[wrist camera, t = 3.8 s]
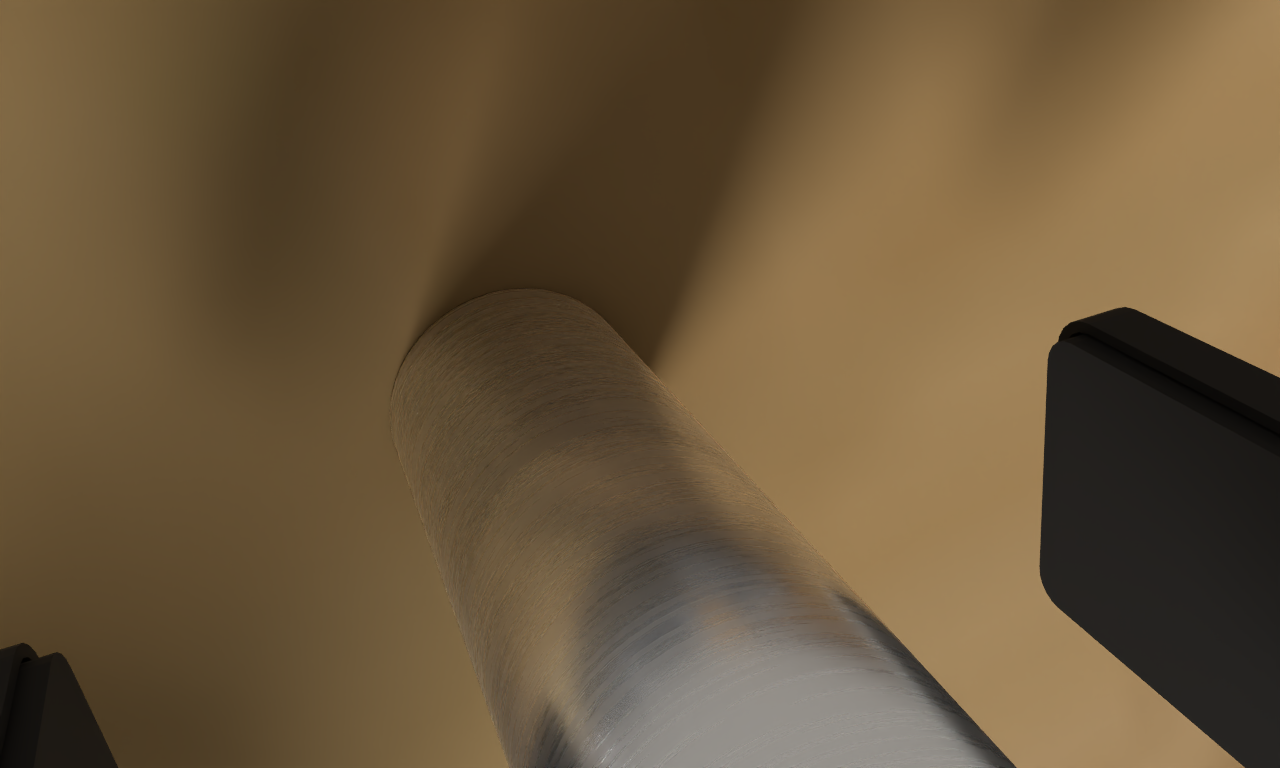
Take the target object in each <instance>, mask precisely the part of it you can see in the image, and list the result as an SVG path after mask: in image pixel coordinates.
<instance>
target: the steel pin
mask: <svg viewBox="0 0 1280 768" xmlns="http://www.w3.org/2000/svg"><path fill="white" fill-rule="evenodd" d="M390 427H391V433H392V438H393V442H394V445H395V448H396V451H397V454H398V457H399V459H400V462H401V465H402V468H403V471H404V473H405V476H406V479H407V482H408V485H409V487H410V490H411V493H412V496H413V499H414V502H415V504H416V507H417V510H418V513H419V516H420V518H421V521H422V524H423V527H424V530H425V532H426V535H427V538H428V541H429V544H430V546H431V549H432V552H433V555H434V558H435V561H436V563H437V566H438V569H439V572H440V575H441V577H442V580H443V583H444V586H445V589H446V591H447V594H448V597H449V600H450V603H451V605H452V608H453V611H454V614H455V617H456V620H457V622H458V625H459V628H460V631H461V634H462V636H463V639H464V642H465V645H466V648H467V650H468V653H469V656H470V659H471V662H472V665H473V667H474V670H475V673H476V676H477V679H478V681H479V684H480V687H481V690H482V693H483V695H484V698H485V701H486V704H487V707H488V709H489V712H490V715H491V718H492V721H493V724H494V726H495V729H496V732H497V735H498V738H499V740H500V743H501V746H502V749H503V752H504V754H505V757H506V760H507V763H508V766H509V768H1016V767H1015V766H1014V764H1013V763H1012V762H1011V761H1010V760H1009V759H1008V758H1007V757H1006V756H1005V755H1004V754H1003V752H1002V751H1001V750H1000V749H999V748H998V747H997V746H996V745H995V744H994V743H993V742H992V740H991V739H990V738H989V737H988V736H987V735H986V734H985V733H984V732H983V731H982V730H981V729H980V727H979V726H978V725H977V724H976V723H975V722H974V721H973V720H972V719H971V718H970V717H969V715H968V714H967V713H966V712H965V711H964V710H963V709H962V708H961V707H960V706H959V705H958V703H957V702H956V701H955V700H954V699H953V698H952V697H951V696H950V695H949V694H948V693H947V692H946V690H945V689H944V688H943V687H942V686H941V685H940V684H939V683H938V682H937V681H936V680H935V678H934V677H933V676H932V675H931V674H930V673H929V672H928V671H927V670H926V669H925V668H924V666H923V665H922V664H921V663H920V662H919V661H918V660H917V659H916V658H915V657H914V656H913V655H912V653H911V652H910V651H909V650H908V649H907V648H906V647H905V646H904V645H903V644H902V643H901V641H900V640H899V639H898V638H897V637H896V636H895V635H894V634H893V633H892V632H891V631H890V630H889V628H888V627H887V626H886V625H885V624H884V623H883V622H882V621H881V620H880V619H879V618H878V616H877V615H876V614H875V613H874V612H873V611H872V610H871V609H870V608H869V607H868V606H867V604H866V603H865V602H864V601H863V600H862V599H861V598H860V597H859V596H858V595H857V594H856V593H855V591H854V590H853V589H852V588H851V587H850V586H849V585H848V584H847V583H846V582H845V581H844V579H843V578H842V577H841V576H840V575H839V574H838V573H837V572H836V571H835V570H834V569H833V567H832V566H831V565H830V564H829V563H828V562H827V561H826V560H825V559H824V558H823V557H822V556H821V554H820V553H819V552H818V551H817V550H816V549H815V548H814V547H813V546H812V545H811V544H810V542H809V541H808V540H807V539H806V538H805V537H804V536H803V535H802V534H801V533H800V532H799V530H798V529H797V528H796V527H795V526H794V525H793V524H792V523H791V522H790V521H789V520H788V519H787V517H786V516H785V515H784V514H783V513H782V512H781V511H780V510H779V509H778V508H777V507H776V505H775V504H774V503H773V502H772V501H771V500H770V499H769V498H768V497H767V496H766V495H765V493H764V492H763V491H762V490H761V489H760V488H759V487H758V486H757V485H756V484H755V483H754V482H753V480H752V479H751V478H750V477H749V476H748V475H747V474H746V473H745V472H744V471H743V470H742V468H741V467H740V466H739V465H738V464H737V463H736V462H735V461H734V460H733V459H732V458H731V456H730V455H729V454H728V453H727V452H726V451H725V450H724V449H723V448H722V447H721V446H720V445H719V443H718V442H717V441H716V440H715V439H714V438H713V437H712V436H711V435H710V434H709V433H708V431H707V430H706V429H705V428H704V427H703V426H702V425H701V424H700V423H699V422H698V421H697V419H696V418H695V417H694V416H693V415H692V414H691V413H690V412H689V411H688V410H687V409H686V408H685V406H684V405H683V404H682V403H681V402H680V401H679V400H678V399H677V398H676V397H675V396H674V394H673V393H672V392H671V391H670V390H669V389H668V388H667V387H666V386H665V385H664V384H663V382H662V381H661V380H660V379H659V378H658V377H657V376H656V375H655V374H654V373H653V372H652V371H651V369H650V368H649V367H648V366H647V365H646V364H645V363H644V362H643V361H642V360H641V359H640V357H639V356H638V355H637V354H636V353H635V352H634V351H633V350H632V349H631V348H630V347H629V345H628V344H627V343H626V342H625V341H624V340H623V339H622V338H621V337H620V336H619V335H618V334H617V332H616V331H615V330H614V329H613V328H612V327H611V326H610V325H609V324H608V323H607V322H606V321H605V320H604V319H603V318H602V317H601V316H600V315H599V314H598V313H597V312H595V311H594V310H592V309H591V308H590V307H588V306H587V305H585V304H583V303H582V302H580V301H578V300H576V299H574V298H572V297H569V296H566V295H563V294H560V293H557V292H552V291H547V290H542V289H529V288H521V289H508V290H502V291H497V292H492V293H489V294H486V295H483V296H480V297H477V298H474V299H472V300H470V301H468V302H466V303H463V304H461V305H459V306H458V307H456V308H454V309H453V310H451V311H450V312H448V313H446V314H445V315H444V316H442V317H441V318H440V319H439V320H437V321H436V322H435V323H434V324H433V325H431V326H430V327H429V328H428V329H427V331H426V332H425V333H424V334H423V335H422V336H421V337H420V338H419V339H418V340H417V342H416V343H415V344H414V346H413V347H412V349H411V350H410V351H409V353H408V355H407V357H406V358H405V360H404V362H403V364H402V365H401V368H400V370H399V373H398V375H397V378H396V380H395V384H394V388H393V392H392V396H391V405H390Z"/></svg>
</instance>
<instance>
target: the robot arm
mask: <svg viewBox="0 0 1280 768" xmlns="http://www.w3.org/2000/svg"><path fill="white" fill-rule="evenodd" d="M1040 576H1041V580H1042V584H1043V586H1044V588H1045V590H1046V593H1047V594H1048V596H1049V597H1050V599H1051V600H1052V602H1053V603H1054V604H1055V605H1056V606H1057V607H1058V608H1059V609H1060V610H1062V611H1063V612H1064V613H1065V614H1066V615H1067V616H1069V617H1070V618H1071V619H1072V620H1073V621H1074V622H1076V623H1077V624H1078V625H1079V626H1080V627H1081V628H1083V629H1084V630H1085V631H1086V632H1087V633H1088V634H1090V635H1091V636H1092V637H1093V638H1094V639H1095V640H1097V641H1098V642H1099V643H1100V644H1101V645H1102V646H1104V647H1105V648H1106V649H1107V650H1108V651H1109V652H1111V653H1112V654H1113V655H1114V656H1115V657H1116V658H1118V659H1119V660H1120V661H1121V662H1122V663H1124V664H1125V665H1126V666H1127V667H1128V668H1129V669H1131V670H1132V671H1133V672H1134V673H1135V674H1136V675H1138V676H1139V677H1140V678H1141V679H1142V680H1143V681H1145V682H1146V683H1147V684H1148V685H1149V686H1150V687H1152V688H1153V689H1154V690H1155V691H1156V692H1157V693H1159V694H1160V695H1161V696H1162V697H1163V698H1164V699H1166V700H1167V701H1168V702H1169V703H1170V704H1171V705H1173V706H1174V707H1175V708H1176V709H1177V710H1178V711H1180V712H1181V713H1182V714H1183V715H1184V716H1185V717H1187V718H1188V719H1189V720H1190V721H1191V722H1192V723H1194V724H1195V725H1196V726H1197V727H1198V728H1200V729H1201V730H1202V731H1203V732H1204V733H1205V734H1207V735H1208V736H1209V737H1210V738H1211V739H1212V740H1214V741H1215V742H1216V743H1217V744H1218V745H1219V746H1221V747H1222V748H1223V749H1224V750H1225V751H1226V752H1228V753H1229V754H1230V755H1231V756H1232V757H1233V758H1235V759H1236V760H1237V761H1238V762H1239V763H1240V764H1242V765H1243V766H1244V767H1245V768H1280V378H1279V377H1277V376H1275V375H1273V374H1270V373H1268V372H1266V371H1264V370H1262V369H1260V368H1258V367H1256V366H1254V365H1251V364H1249V363H1247V362H1245V361H1243V360H1241V359H1239V358H1237V357H1234V356H1232V355H1230V354H1228V353H1226V352H1224V351H1222V350H1220V349H1218V348H1215V347H1213V346H1211V345H1209V344H1207V343H1205V342H1203V341H1201V340H1198V339H1196V338H1194V337H1192V336H1190V335H1188V334H1186V333H1184V332H1182V331H1179V330H1177V329H1175V328H1173V327H1171V326H1169V325H1167V324H1165V323H1162V322H1160V321H1158V320H1156V319H1154V318H1152V317H1150V316H1148V315H1146V314H1143V313H1141V312H1139V311H1137V310H1135V309H1131V308H1127V307H1122V308H1117V309H1113V310H1110V311H1107V312H1103V313H1100V314H1097V315H1094V316H1090V317H1087V318H1084V319H1081V320H1077V321H1074V322H1071V323H1069V324H1068V325H1067V326H1065V327H1064V328H1063V330H1062V332H1061V334H1060V336H1059V340H1058V342H1057V343H1056V344H1055V345H1053V346H1052V348H1051V350H1050V352H1049V357H1048V367H1047V393H1046V418H1045V444H1044V469H1043V495H1042V520H1041V546H1040ZM0 768H118V766H117V764H116V762H115V760H114V758H113V756H112V753H111V751H110V749H109V747H108V745H107V743H106V741H105V739H104V737H103V734H102V732H101V730H100V728H99V726H98V724H97V722H96V720H95V718H94V715H93V713H92V711H91V709H90V707H89V705H88V703H87V701H86V699H85V696H84V694H83V692H82V690H81V688H80V686H79V684H78V682H77V680H76V677H75V675H74V673H73V671H72V669H71V667H70V665H69V664H68V662H67V660H66V659H65V657H64V656H63V655H62V654H60V653H58V652H56V653H53V654H50V655H46V656H43V657H40V658H39V657H38V656H37V654H36V652H35V651H34V650H33V649H32V648H31V647H30V646H29V645H27V644H24V643H21V644H17V645H14V646H11V647H8V648H4V649H1V650H0Z"/></svg>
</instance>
